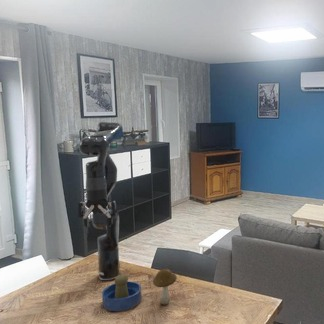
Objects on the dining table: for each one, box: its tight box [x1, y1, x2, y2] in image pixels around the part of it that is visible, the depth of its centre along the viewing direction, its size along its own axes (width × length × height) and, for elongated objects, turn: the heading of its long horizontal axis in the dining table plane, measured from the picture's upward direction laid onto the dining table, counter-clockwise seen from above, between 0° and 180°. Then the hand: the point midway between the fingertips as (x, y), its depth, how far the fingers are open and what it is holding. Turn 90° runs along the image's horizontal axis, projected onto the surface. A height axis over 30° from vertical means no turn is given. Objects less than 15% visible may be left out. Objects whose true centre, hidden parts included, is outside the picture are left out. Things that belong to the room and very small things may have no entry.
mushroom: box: [152, 268, 178, 306], centre depth 141 cm, size 9×11×15 cm
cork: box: [113, 274, 129, 299], centre depth 141 cm, size 6×6×11 cm
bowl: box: [101, 280, 143, 312], centre depth 142 cm, size 15×15×6 cm
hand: (98, 226), depth 137 cm, fingers open, 8 cm apart
